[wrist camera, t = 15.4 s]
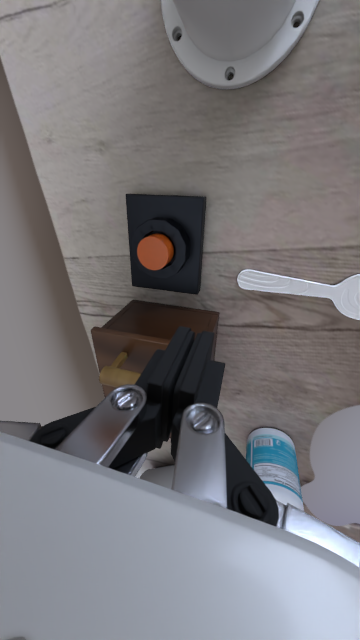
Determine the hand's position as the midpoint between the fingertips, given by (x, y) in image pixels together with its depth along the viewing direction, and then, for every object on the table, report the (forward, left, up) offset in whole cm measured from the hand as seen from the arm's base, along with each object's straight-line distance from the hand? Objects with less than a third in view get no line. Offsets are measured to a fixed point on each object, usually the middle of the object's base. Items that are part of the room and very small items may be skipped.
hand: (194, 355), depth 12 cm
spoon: (+3, +10, -21) cm, 23 cm away
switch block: (-1, -8, -20) cm, 22 cm away
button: (-1, -8, -17) cm, 19 cm away
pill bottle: (+30, +10, -21) cm, 38 cm away
